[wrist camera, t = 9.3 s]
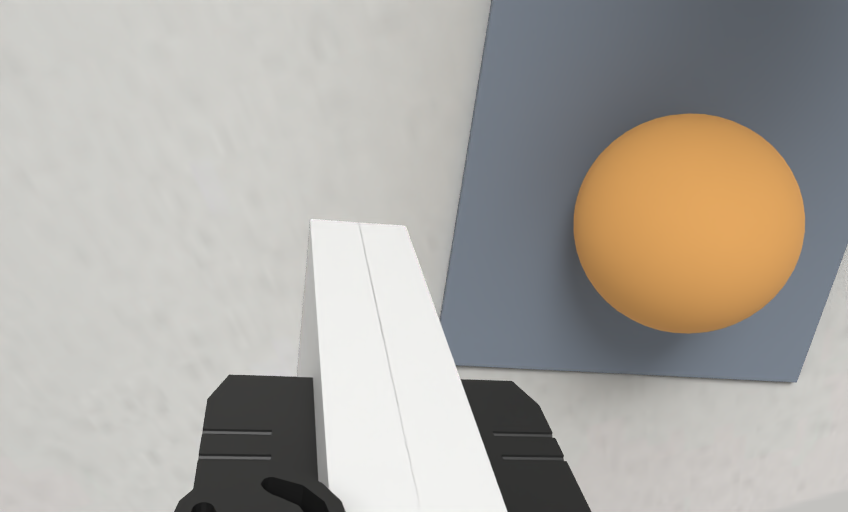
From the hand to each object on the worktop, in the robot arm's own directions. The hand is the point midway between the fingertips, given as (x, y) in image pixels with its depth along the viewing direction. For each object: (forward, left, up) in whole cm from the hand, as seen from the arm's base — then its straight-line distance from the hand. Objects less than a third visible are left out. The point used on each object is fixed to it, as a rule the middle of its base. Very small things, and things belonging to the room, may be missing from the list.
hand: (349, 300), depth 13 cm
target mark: (+10, 0, -9) cm, 13 cm away
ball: (+9, 0, -6) cm, 11 cm away
